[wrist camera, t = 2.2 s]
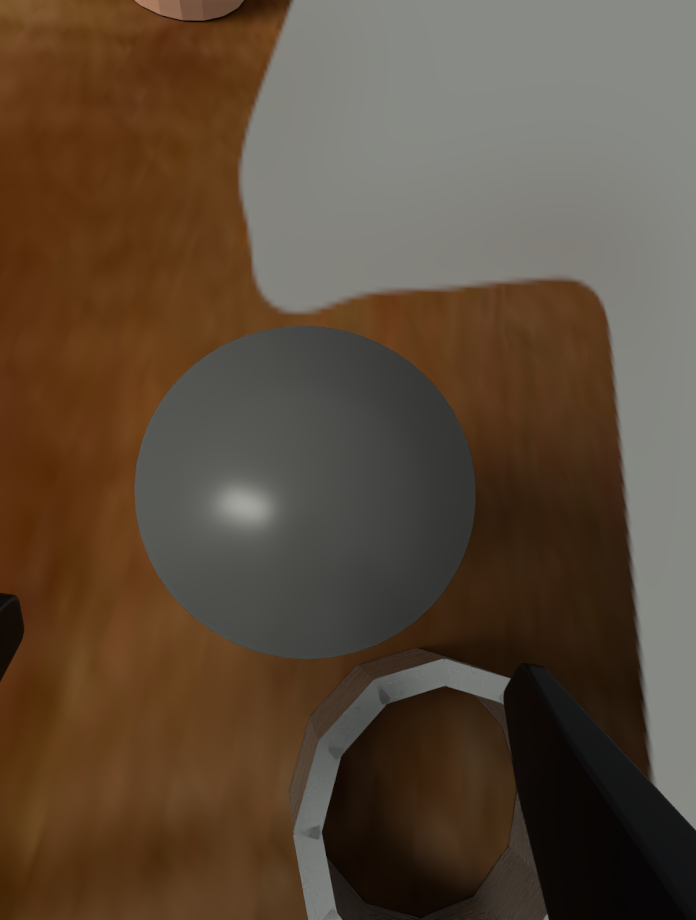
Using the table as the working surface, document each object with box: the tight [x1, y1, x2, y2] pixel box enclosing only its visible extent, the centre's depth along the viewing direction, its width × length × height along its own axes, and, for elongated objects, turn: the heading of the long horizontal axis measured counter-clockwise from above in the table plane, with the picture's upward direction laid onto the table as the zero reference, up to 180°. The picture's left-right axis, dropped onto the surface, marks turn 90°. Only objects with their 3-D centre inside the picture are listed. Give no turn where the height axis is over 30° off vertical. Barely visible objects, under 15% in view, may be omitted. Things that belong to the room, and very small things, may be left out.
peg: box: [134, 326, 476, 659], centre depth 12 cm, size 4×4×13 cm
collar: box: [289, 648, 549, 920], centre depth 15 cm, size 9×9×3 cm
